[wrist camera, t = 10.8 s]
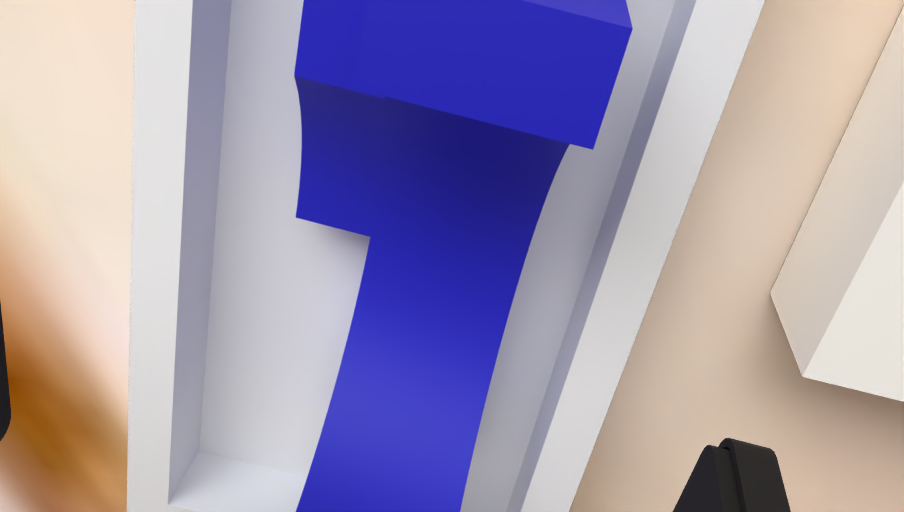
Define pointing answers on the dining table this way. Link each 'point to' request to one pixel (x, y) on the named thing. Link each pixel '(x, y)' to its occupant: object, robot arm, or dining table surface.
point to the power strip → (855, 249)
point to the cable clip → (435, 212)
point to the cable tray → (344, 254)
